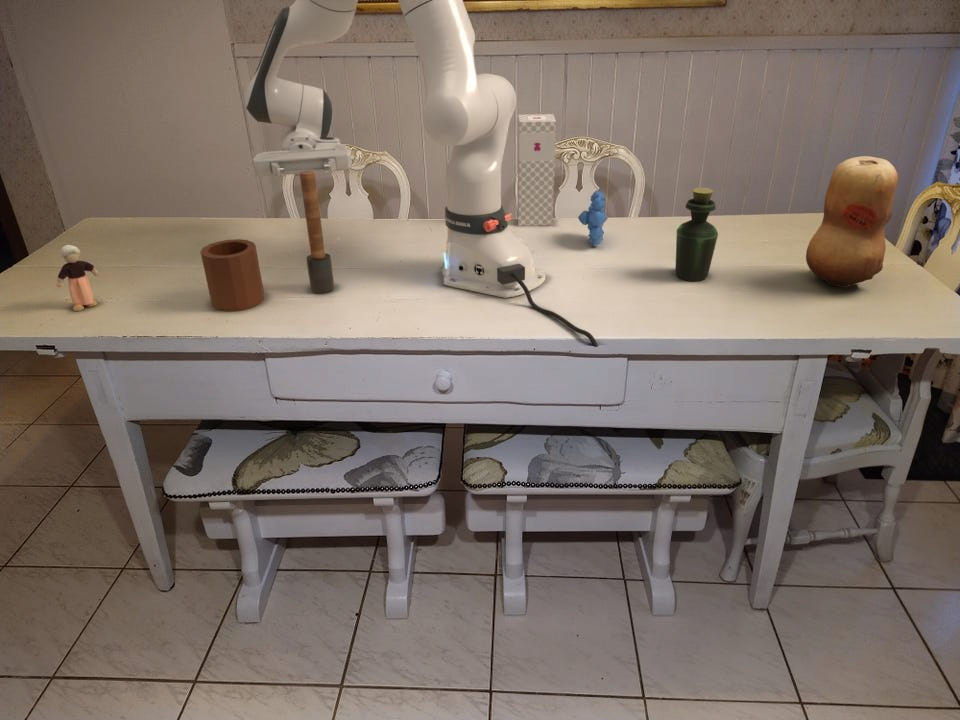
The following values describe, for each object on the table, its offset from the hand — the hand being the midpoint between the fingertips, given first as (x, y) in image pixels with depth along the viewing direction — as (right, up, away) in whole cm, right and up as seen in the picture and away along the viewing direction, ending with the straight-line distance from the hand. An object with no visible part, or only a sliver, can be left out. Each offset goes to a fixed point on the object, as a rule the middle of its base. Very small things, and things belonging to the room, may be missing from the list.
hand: (304, 171), depth 149 cm
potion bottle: (+80, -21, +3) cm, 83 cm away
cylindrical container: (-12, -27, -4) cm, 30 cm away
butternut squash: (+108, -23, -2) cm, 111 cm away
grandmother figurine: (-42, -28, -5) cm, 51 cm away
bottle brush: (+4, -24, 0) cm, 24 cm away
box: (+50, -3, +36) cm, 61 cm away
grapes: (+62, -11, +21) cm, 66 cm away
